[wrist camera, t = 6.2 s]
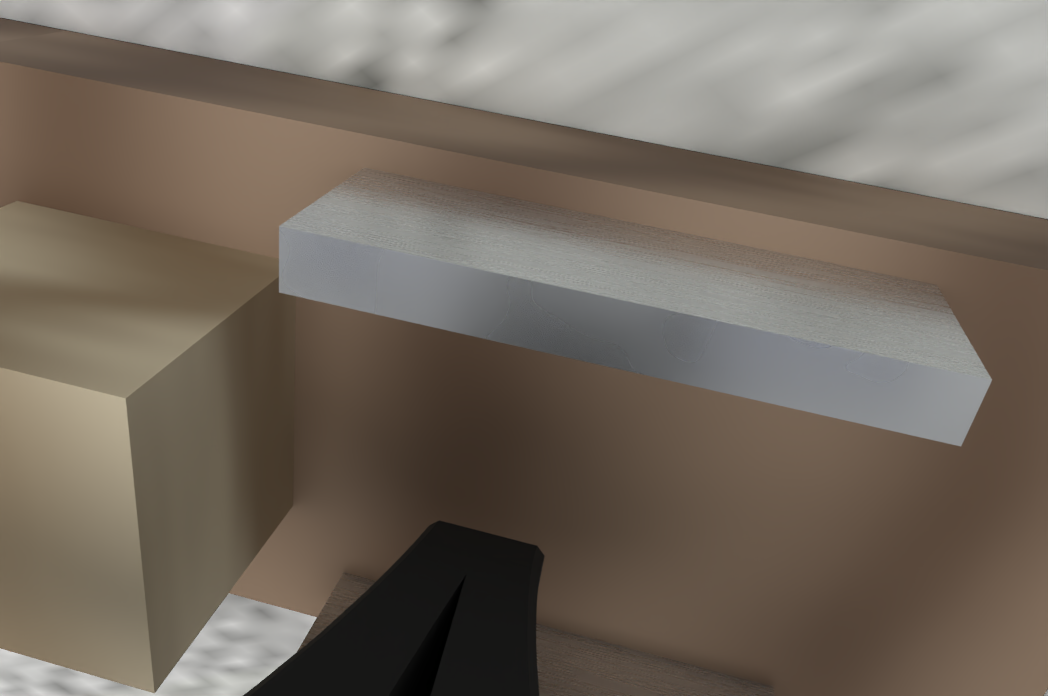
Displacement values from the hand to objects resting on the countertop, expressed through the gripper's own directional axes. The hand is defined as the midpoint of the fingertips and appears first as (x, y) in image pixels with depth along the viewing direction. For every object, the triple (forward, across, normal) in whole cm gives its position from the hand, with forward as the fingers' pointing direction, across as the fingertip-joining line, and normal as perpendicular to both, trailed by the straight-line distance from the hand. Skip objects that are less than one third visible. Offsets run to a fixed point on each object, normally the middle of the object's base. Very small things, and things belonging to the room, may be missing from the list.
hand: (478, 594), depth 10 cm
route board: (+6, +4, 0) cm, 7 cm away
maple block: (+3, +6, 0) cm, 7 cm away
